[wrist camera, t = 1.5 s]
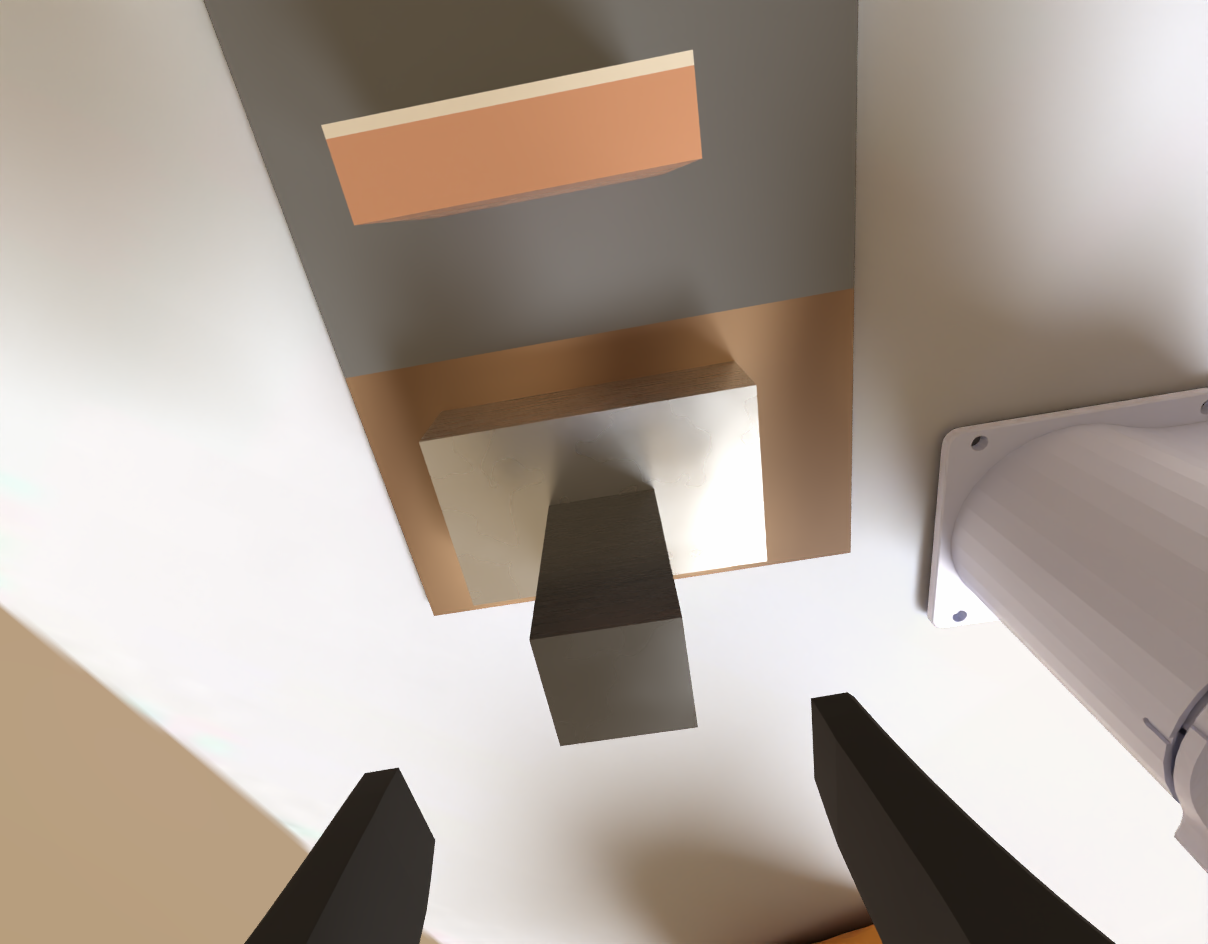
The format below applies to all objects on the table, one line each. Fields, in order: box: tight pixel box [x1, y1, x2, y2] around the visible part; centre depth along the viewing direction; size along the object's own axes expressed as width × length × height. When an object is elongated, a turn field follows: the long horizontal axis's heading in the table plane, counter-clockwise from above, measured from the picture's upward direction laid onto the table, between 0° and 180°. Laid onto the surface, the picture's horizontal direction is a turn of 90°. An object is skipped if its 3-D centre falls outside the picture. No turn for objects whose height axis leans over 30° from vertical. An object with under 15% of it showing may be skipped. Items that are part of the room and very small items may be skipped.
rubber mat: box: [204, 0, 858, 378], centre depth 14 cm, size 15×13×1 cm
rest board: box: [345, 288, 854, 616], centre depth 19 cm, size 15×9×1 cm, turn 100°
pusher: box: [419, 361, 767, 746], centre depth 15 cm, size 9×6×8 cm, turn 100°
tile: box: [321, 50, 702, 225], centre depth 12 cm, size 6×2×6 cm, turn 100°
